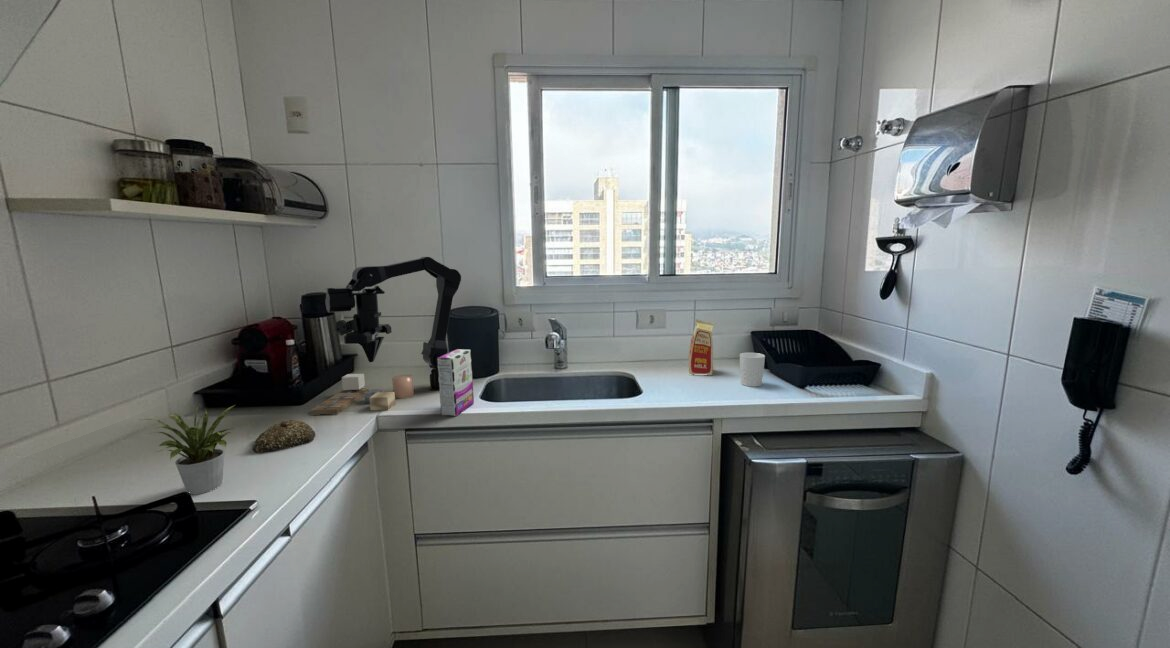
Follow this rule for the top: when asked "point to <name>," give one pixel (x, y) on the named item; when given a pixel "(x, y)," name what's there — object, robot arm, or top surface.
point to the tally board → (338, 402)
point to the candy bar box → (455, 382)
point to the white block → (353, 381)
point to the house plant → (198, 453)
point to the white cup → (751, 369)
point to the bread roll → (284, 436)
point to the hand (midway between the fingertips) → (371, 361)
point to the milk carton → (701, 349)
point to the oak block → (382, 400)
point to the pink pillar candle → (403, 386)
